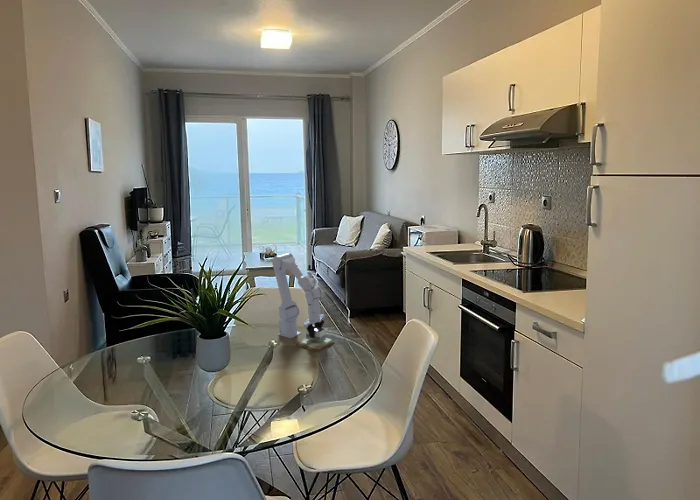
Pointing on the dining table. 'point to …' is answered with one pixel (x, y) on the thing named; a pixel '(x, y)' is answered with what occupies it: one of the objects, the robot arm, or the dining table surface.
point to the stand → (314, 344)
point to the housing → (317, 335)
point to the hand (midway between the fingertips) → (315, 335)
